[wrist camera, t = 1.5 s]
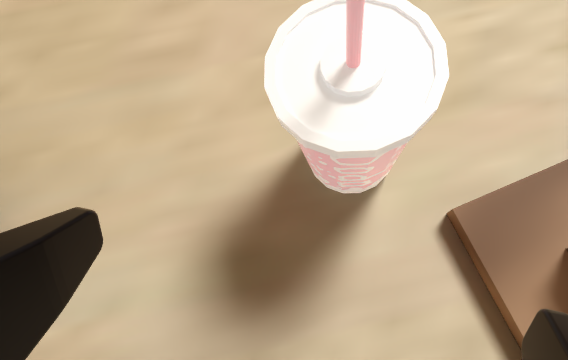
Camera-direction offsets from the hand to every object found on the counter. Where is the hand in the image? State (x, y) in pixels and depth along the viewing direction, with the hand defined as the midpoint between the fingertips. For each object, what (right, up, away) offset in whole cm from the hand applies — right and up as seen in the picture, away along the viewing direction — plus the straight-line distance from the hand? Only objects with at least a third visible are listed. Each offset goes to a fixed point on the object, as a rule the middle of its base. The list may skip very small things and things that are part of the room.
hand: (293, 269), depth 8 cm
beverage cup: (+3, +3, +14) cm, 15 cm away
